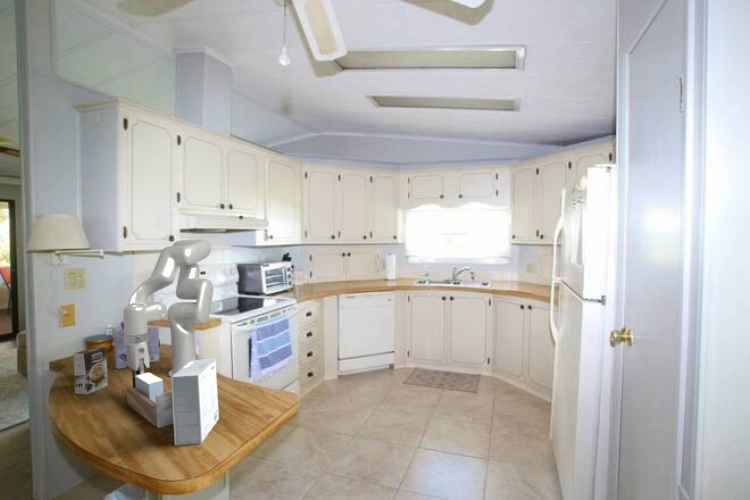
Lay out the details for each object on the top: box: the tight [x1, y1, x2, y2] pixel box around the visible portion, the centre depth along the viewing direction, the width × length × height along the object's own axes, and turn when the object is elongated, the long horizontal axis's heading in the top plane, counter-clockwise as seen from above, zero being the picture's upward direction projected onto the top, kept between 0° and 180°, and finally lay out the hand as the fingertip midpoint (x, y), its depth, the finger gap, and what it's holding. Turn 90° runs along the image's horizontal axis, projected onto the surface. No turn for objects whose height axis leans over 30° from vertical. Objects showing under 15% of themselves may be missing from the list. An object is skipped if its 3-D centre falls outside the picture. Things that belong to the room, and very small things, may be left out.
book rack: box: [126, 386, 174, 429], centre depth 132 cm, size 9×30×10 cm, turn 49°
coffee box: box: [73, 346, 109, 395], centre depth 154 cm, size 9×6×16 cm
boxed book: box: [135, 372, 164, 403], centre depth 136 cm, size 4×14×10 cm, turn 49°
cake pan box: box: [114, 325, 161, 370], centre depth 187 cm, size 19×5×18 cm, turn 134°
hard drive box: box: [170, 358, 220, 446], centre depth 115 cm, size 16×8×20 cm, turn 5°
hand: (138, 386), depth 144 cm, fingers closed
